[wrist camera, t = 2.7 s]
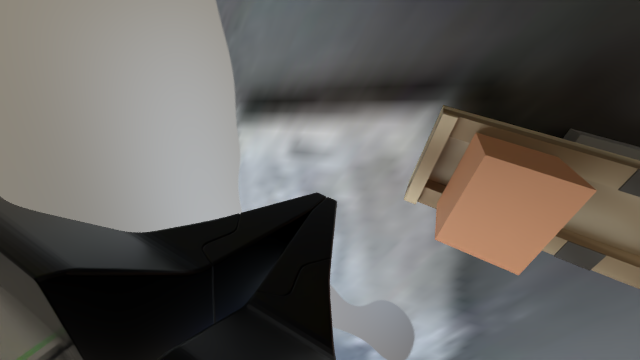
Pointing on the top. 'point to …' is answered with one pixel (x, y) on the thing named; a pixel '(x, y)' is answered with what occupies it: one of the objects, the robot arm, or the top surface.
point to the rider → (507, 202)
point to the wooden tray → (580, 155)
